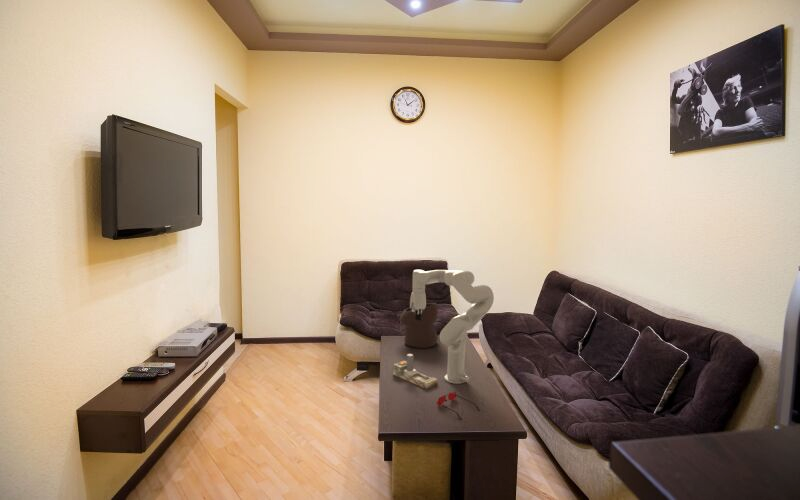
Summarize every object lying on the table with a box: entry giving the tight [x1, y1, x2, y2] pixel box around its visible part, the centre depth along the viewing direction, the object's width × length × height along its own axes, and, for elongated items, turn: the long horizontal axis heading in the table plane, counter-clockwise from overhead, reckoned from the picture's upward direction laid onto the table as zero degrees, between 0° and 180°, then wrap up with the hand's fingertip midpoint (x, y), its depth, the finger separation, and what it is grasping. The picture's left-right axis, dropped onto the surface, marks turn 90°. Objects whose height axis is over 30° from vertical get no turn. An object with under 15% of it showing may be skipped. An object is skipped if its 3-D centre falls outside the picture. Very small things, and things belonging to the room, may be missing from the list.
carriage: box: [404, 353, 417, 376], centre depth 232 cm, size 5×5×12 cm
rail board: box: [392, 360, 438, 390], centre depth 230 cm, size 26×9×6 cm, turn 44°
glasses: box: [435, 391, 481, 421], centre depth 197 cm, size 14×16×5 cm
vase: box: [399, 302, 439, 349], centre depth 291 cm, size 27×27×30 cm
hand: (418, 319), depth 246 cm, fingers closed
